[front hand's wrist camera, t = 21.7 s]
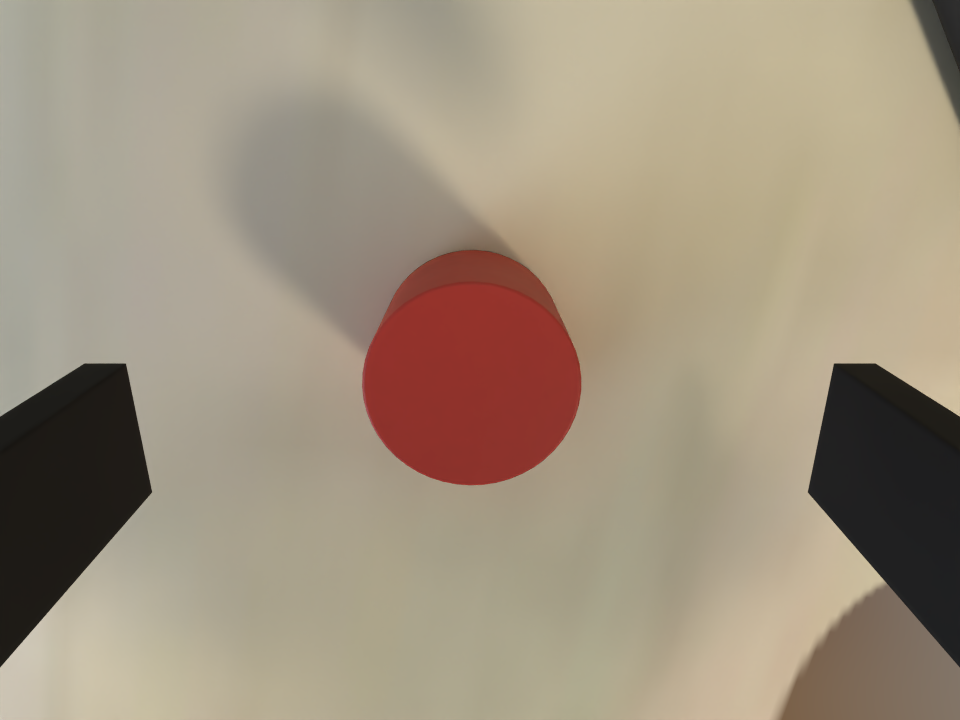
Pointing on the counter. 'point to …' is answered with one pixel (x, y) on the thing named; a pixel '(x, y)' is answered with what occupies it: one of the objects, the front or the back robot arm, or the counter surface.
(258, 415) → the counter surface
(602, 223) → the counter surface
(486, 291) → the can
